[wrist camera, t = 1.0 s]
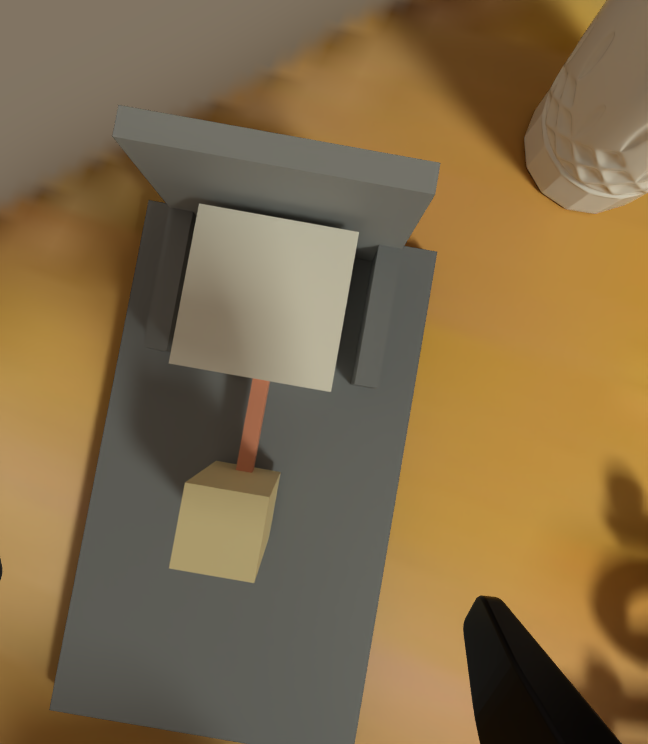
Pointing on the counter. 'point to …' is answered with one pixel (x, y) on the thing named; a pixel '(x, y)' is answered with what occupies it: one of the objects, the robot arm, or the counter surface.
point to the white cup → (596, 116)
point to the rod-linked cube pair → (253, 361)
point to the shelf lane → (275, 452)
